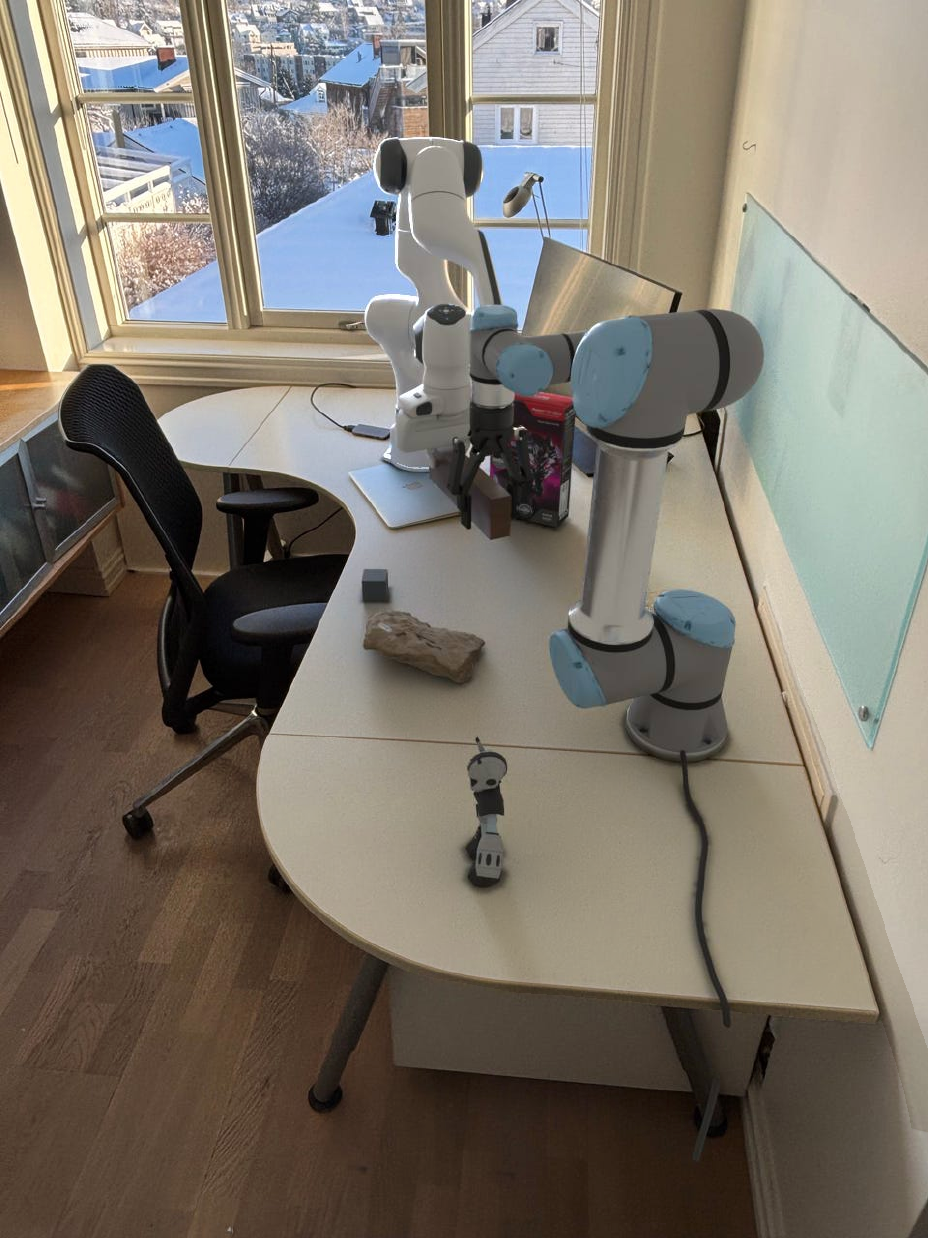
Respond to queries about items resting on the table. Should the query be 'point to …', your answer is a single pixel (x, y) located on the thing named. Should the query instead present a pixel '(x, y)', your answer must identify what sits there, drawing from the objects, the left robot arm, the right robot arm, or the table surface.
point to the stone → (423, 644)
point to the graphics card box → (542, 457)
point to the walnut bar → (477, 496)
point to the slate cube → (375, 585)
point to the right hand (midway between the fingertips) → (488, 521)
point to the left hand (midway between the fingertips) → (446, 464)
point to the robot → (486, 816)
